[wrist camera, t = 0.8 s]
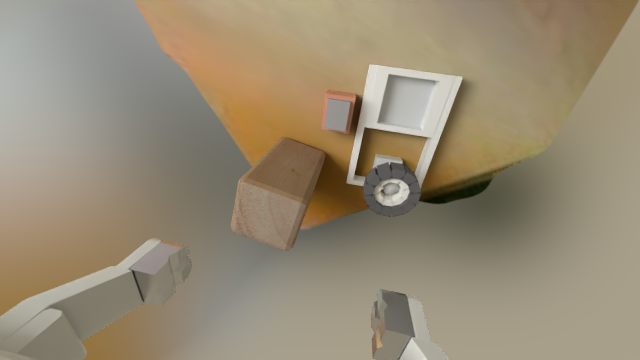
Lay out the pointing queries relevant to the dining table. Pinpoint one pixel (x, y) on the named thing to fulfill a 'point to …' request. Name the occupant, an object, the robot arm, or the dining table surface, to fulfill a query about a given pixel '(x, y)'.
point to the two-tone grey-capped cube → (338, 111)
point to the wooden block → (277, 194)
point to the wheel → (398, 200)
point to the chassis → (404, 113)
